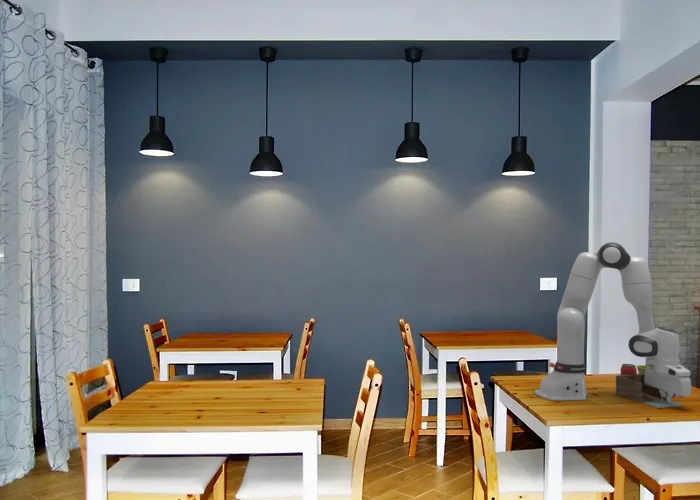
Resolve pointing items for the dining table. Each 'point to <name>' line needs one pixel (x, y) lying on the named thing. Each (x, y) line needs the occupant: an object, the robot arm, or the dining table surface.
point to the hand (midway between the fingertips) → (666, 401)
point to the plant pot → (641, 369)
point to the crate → (636, 388)
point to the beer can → (628, 369)
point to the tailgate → (663, 404)
